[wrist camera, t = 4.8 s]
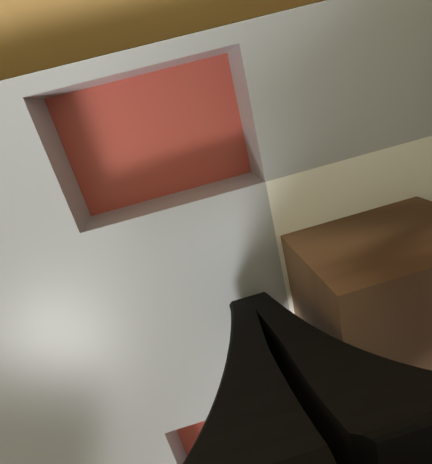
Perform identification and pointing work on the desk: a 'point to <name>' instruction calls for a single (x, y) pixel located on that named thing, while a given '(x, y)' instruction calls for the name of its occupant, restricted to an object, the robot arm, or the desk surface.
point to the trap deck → (185, 210)
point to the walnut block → (368, 279)
